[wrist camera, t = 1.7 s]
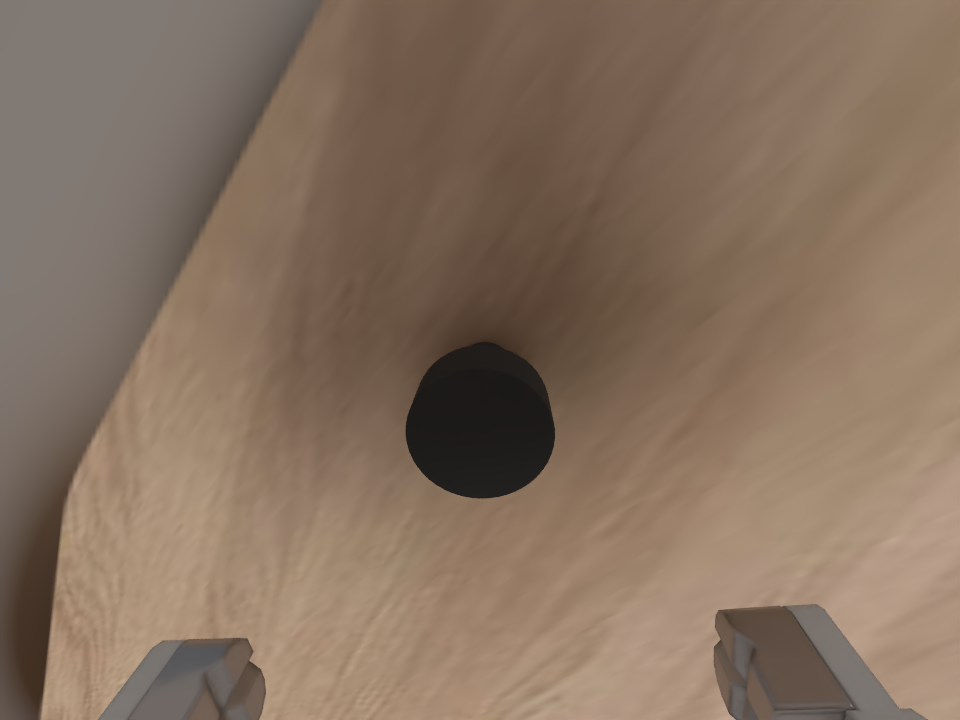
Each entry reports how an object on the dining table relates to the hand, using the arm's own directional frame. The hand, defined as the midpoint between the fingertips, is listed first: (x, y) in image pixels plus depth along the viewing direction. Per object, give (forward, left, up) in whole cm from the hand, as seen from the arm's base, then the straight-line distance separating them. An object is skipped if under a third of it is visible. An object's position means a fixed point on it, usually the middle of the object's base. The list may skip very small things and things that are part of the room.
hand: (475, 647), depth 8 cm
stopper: (0, 0, -12) cm, 12 cm away
